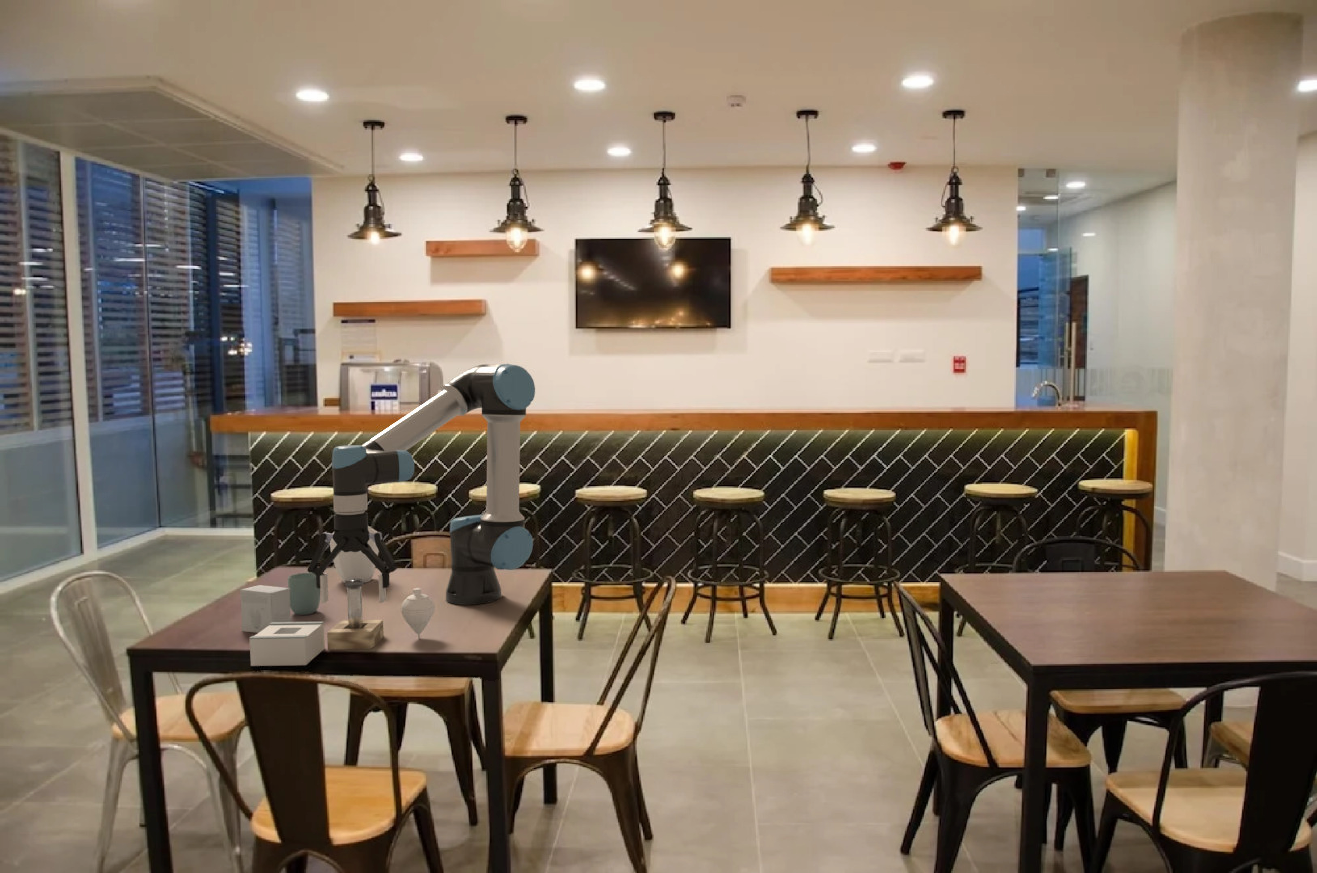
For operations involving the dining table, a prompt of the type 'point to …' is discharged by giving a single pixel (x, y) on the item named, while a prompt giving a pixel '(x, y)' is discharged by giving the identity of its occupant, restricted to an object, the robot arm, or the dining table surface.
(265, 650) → the socket
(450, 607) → the dining table surface
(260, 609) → the skincare box
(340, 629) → the mount
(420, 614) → the spinning top
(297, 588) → the cup
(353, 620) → the pin
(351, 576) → the vase
